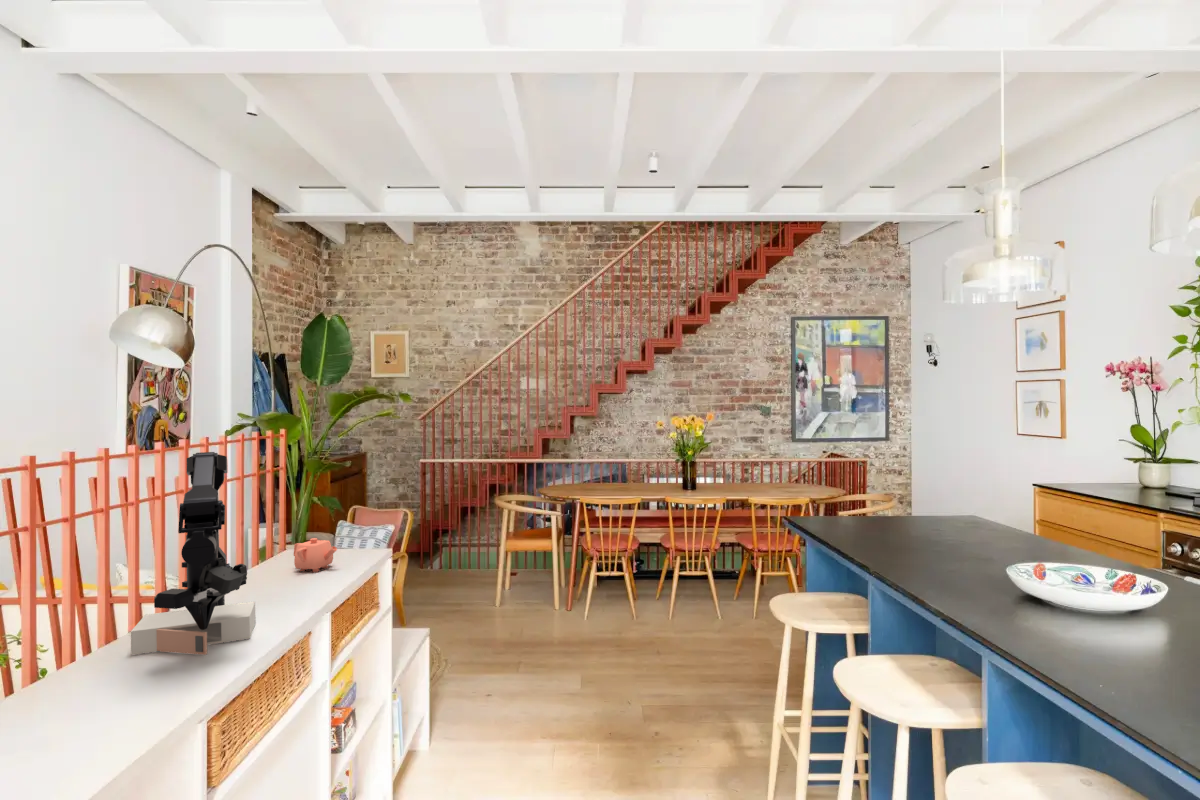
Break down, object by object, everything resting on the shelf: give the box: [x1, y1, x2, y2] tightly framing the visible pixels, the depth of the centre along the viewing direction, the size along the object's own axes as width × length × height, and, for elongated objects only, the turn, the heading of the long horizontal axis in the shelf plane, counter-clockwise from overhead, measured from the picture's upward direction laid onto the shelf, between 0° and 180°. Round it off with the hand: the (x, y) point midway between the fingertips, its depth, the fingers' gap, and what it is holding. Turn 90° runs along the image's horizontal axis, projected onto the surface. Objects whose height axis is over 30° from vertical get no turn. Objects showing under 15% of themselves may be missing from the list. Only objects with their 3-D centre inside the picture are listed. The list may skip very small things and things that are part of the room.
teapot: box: [293, 537, 338, 573], centre depth 207 cm, size 12×12×10 cm
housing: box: [130, 601, 257, 656], centre depth 147 cm, size 12×22×5 cm, turn 112°
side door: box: [156, 629, 208, 656], centre depth 137 cm, size 1×12×4 cm, turn 77°
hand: (203, 629), depth 139 cm, fingers closed
